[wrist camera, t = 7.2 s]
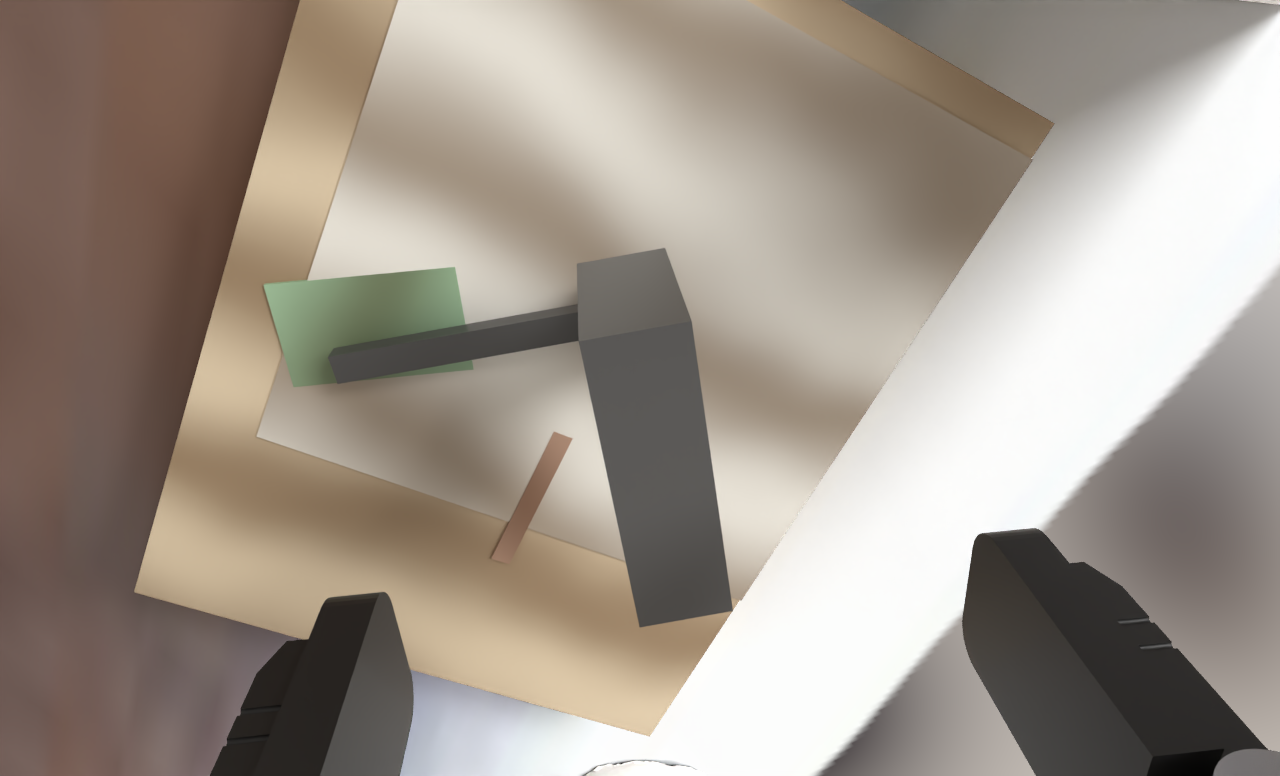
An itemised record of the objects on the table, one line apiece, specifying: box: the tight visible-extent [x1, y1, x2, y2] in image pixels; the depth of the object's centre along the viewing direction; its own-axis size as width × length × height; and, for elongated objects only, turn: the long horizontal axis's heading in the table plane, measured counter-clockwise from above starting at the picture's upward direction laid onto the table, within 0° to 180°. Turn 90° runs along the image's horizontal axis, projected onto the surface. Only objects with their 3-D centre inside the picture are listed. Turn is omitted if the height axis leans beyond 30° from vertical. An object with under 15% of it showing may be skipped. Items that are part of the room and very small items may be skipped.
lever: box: [328, 248, 733, 627], centre depth 18 cm, size 9×6×9 cm, turn 99°
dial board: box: [134, 0, 1054, 736], centre depth 25 cm, size 24×18×4 cm
